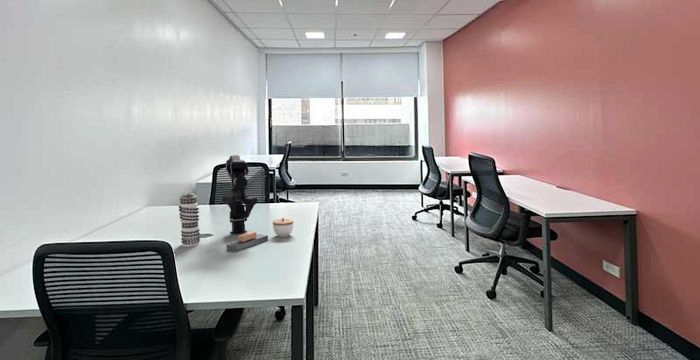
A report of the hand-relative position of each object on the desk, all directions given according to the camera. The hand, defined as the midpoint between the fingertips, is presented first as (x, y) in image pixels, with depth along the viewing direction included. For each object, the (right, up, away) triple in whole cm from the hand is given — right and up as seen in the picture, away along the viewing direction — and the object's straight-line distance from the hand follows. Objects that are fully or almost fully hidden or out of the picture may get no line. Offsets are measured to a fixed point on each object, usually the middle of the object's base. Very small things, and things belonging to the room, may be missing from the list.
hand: (240, 216), depth 214 cm
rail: (+6, -13, -9) cm, 17 cm away
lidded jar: (+20, -11, +8) cm, 24 cm away
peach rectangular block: (+6, -13, -9) cm, 17 cm away
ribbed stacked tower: (-23, -13, -6) cm, 27 cm away
